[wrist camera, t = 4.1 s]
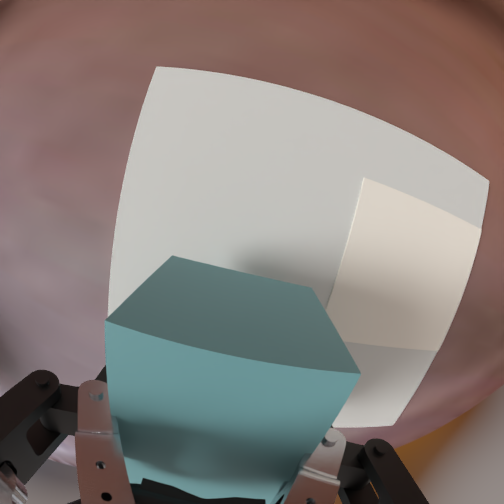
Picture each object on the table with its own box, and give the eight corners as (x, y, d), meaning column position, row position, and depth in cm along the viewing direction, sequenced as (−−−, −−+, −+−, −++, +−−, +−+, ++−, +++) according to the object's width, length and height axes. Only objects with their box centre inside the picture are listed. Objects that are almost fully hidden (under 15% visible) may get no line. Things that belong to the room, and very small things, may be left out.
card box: (172, 255, 11) (104, 320, 5) (311, 287, 12) (361, 373, 6) (155, 405, 13) (125, 488, 7) (258, 427, 14) (262, 514, 8)
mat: (159, 70, 12) (155, 65, 12) (483, 181, 14) (490, 181, 13) (112, 379, 16) (108, 384, 16) (390, 420, 18) (393, 426, 17)
